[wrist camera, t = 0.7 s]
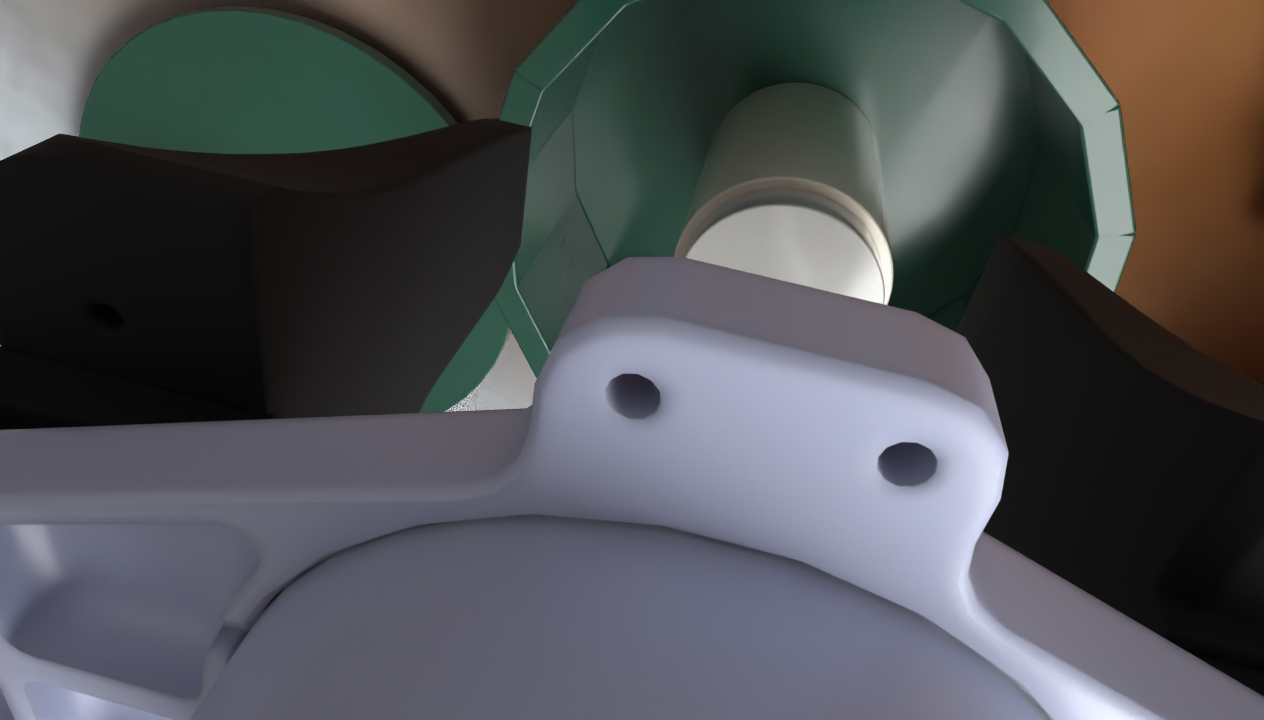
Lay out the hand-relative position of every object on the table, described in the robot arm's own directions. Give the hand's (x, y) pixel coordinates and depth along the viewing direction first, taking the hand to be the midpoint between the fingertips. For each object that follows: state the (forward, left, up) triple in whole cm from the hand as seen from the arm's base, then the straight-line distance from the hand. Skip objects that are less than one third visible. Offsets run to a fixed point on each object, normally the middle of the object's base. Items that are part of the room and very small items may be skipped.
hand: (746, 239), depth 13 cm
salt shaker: (-2, -1, -10) cm, 10 cm away
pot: (-2, -1, -10) cm, 11 cm away
